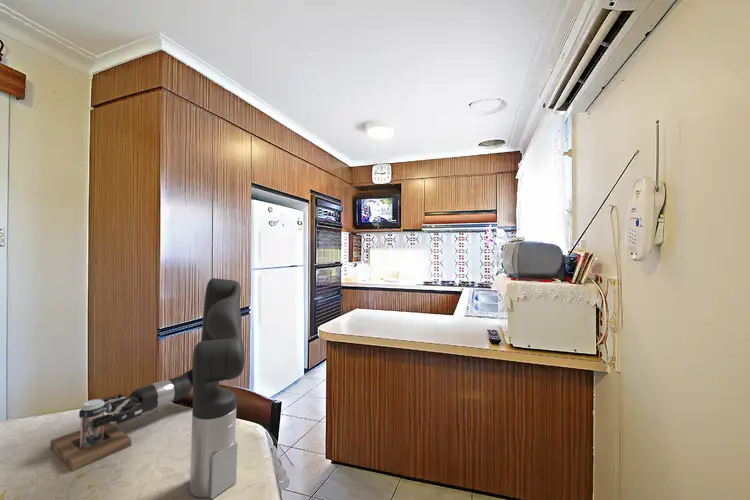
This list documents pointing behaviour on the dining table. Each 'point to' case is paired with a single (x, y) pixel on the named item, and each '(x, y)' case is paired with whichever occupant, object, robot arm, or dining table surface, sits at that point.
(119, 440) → the frame
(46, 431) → the dining table surface
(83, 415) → the beer can
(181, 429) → the dining table surface
